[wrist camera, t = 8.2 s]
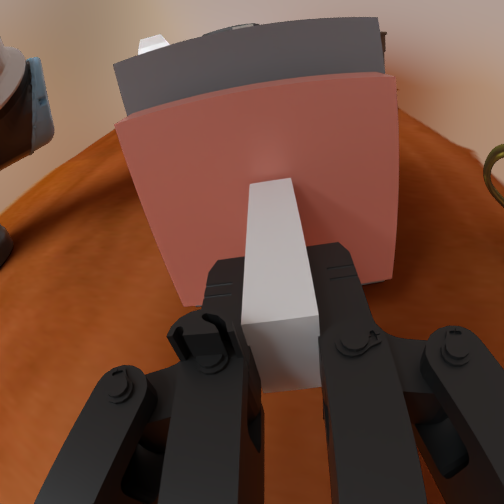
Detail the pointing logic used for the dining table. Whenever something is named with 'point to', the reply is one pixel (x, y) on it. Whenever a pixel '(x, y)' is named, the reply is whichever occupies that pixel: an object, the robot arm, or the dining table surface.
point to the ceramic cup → (493, 156)
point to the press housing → (250, 59)
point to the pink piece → (269, 169)
